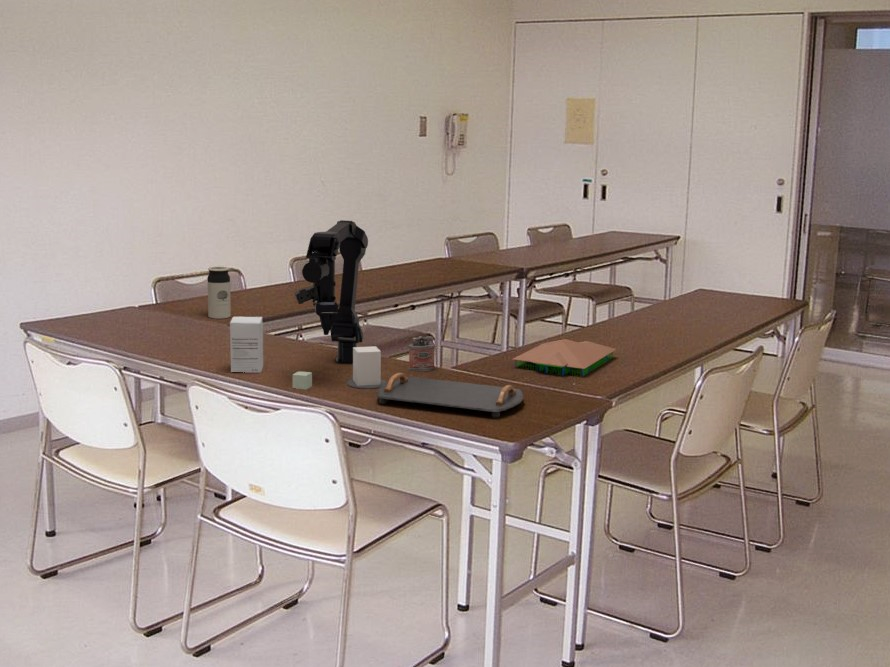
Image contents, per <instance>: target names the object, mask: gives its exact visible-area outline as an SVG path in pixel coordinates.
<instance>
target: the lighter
mask: <svg viewBox="0 0 890 667" xmlns="http://www.w3.org/2000/svg"><path fill="white" fill-rule="evenodd" d="M425 342H426V343H425ZM430 342H434V337H433V336H425V337H423V336H422V335H420V336H418V337H412V343H413V344H412V343H411V344H409V345H408V353H409V354H408V371H409V372H425V371H427V372H428V371H434V370H435V369H436V366H435V363H436V362H435V360H436V359H435V358H436V357H435V353H436V352H435V351H436V344H435V343H430Z"/></svg>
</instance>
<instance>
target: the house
mask: <svg viewBox="0 0 890 667" xmlns="http://www.w3.org/2000/svg"><path fill="white" fill-rule="evenodd" d="M615 351H617V348H613V347H610V346H607V345H603V344H600V343H599V344H598V343H596V342H592V341H589V340H584V341H580V342H577V341H574V340H571V339H567V338H564V339H560V340H553V341H549V342H543V343H542V344H541V343H540V344H539V345H538V346H535V347H533V348H531V349H530V350H527V351H525V352H524V353H521V354H519V355H516V357H514V358H512V359H511V360H513V361H515V367H514V368H515V369H516V368H518V369H519V366H520V367H522V370H524V366H525V364H527V363H528V364H527V366H528V368H527V370H529V367H530V364H529V363H532V364H533V365H532V367H533V368H532V370H533V371H534V367H535V368H536V372H543V371H544V374H547V373H549V374H550V375H551V374H552V372H555V368H557V372H558V373H557V374H560V373H561V376H565V375H567V374H568V373H570V371H571V372H572V373H571V374H572V375H571V376H574V375H573V373H574V369H575V371H578V369H579V371H578V373H577V375H576V376H577V377H579V376H578V374H581V377H582V378H583V377H584V376H585V375H586V374H589V373H590V372H592V371H594V369H598V368H599V367H600V366H602V365H604V364H605V363H607V362H608V361H610V359H613V357H614V356H613V354H614V352H615ZM534 364H535V366H534ZM549 367H551V368H552V367H553V368H552V371H550V372H549Z"/></svg>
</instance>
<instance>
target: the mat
mask: <svg viewBox="0 0 890 667" xmlns="http://www.w3.org/2000/svg"><path fill="white" fill-rule="evenodd" d="M386 383H387V380H384V379H383V378H381V385H365V386H357V385H356V383H355V382H354V381H353V378H351V379H349V380H347V382H346V385H347V386H348V387H350V388H353V389H360V390H363V389H364V390H365V389H366V390H371V389H372V390H373V389H379V388H380V387H381V386H383V385H385V384H386Z"/></svg>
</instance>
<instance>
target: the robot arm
mask: <svg viewBox="0 0 890 667" xmlns="http://www.w3.org/2000/svg"><path fill="white" fill-rule="evenodd" d="M368 246H369V237H368V236H367V234H366V231H365V230H364V229H362V228H360V226H358V225H357V224H356V222H355V221H353V220H343V219H340V220H337V222H336V224H334V225H333V226H331V227H330V228H329V229H328V230H326V231H317V232H314V233H313V234H312V236H311V237H310V240H309V243H308V248H307V250H306V251H307V252H306V256H305V258H306V259H308V262H306V263H305V264H304V266H302V270H301V273H302V278H304V280H305V281H307V282H308V283H312V285H310V286H306V287H303V288H301V289H298V290H295V291H294V293H293V294H294V296H295V299H296V301H297V304H298V305H302V304H304V303H306V302H309V301H311V300H312V301H311V302H312V306H313V307H314V310H315V314H316V315H317V316H318V317H319V321H320V325H321V326H320V327H321V329H322V331H323V335H324V336H329V333H330V337H331V342H337V356H335V360H336V363H338V364H344V363H346V364H347V363H348V364H350V363H352V364H353V347H358V345H357V344H359V343H363V342H364V341H363V340H364V332H363V329H362V327H361V325H360V324H361V323H360V317H359V316H358V314H357V311H356V309H355V308H356V298H357V287H358V279H359V267H360V266H359V265H360V262H361V261H362V259H364V257H365V255H366V251H367V249H368ZM338 253H340V255H341V257H342V259H343V264H342V265H343V266H342V276H341V285H340V297H339V304H338V303H337V301H336V284H337V283H336V277H335V276H336V259H337V256H338Z"/></svg>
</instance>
